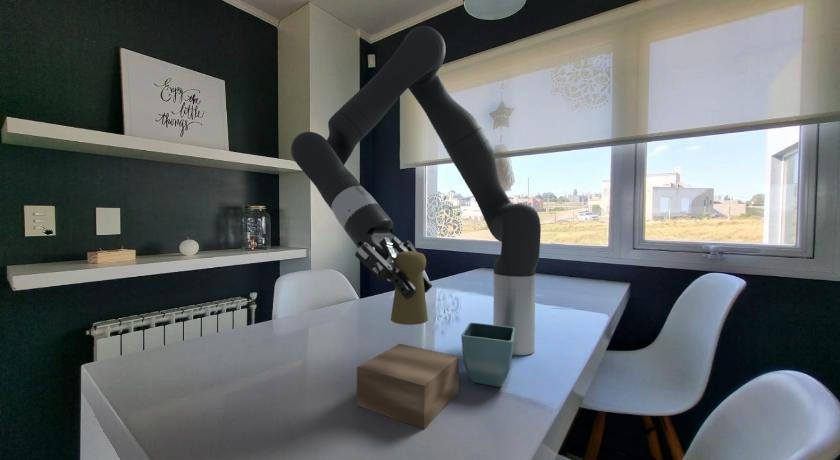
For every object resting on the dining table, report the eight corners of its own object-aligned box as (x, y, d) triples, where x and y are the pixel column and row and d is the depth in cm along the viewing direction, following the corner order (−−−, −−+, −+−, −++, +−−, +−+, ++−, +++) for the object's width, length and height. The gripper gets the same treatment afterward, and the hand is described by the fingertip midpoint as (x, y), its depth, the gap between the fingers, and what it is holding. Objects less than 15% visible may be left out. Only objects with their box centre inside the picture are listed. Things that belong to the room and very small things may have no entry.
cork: (424, 326, 50) (425, 253, 50) (386, 323, 51) (386, 252, 51) (430, 315, 56) (431, 250, 56) (396, 313, 57) (397, 250, 57)
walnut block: (399, 375, 62) (399, 343, 61) (458, 391, 56) (458, 356, 56) (356, 405, 51) (357, 366, 51) (424, 429, 45) (424, 385, 45)
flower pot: (515, 373, 63) (515, 326, 63) (512, 395, 55) (512, 341, 54) (469, 366, 66) (469, 321, 66) (460, 386, 57) (460, 335, 57)
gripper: (345, 198, 51) (411, 284, 45) (397, 204, 63) (454, 272, 57) (320, 232, 53) (379, 317, 47) (374, 231, 66) (427, 299, 60)
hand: (420, 292), depth 52 cm, fingers closed on cork, 4 cm apart
